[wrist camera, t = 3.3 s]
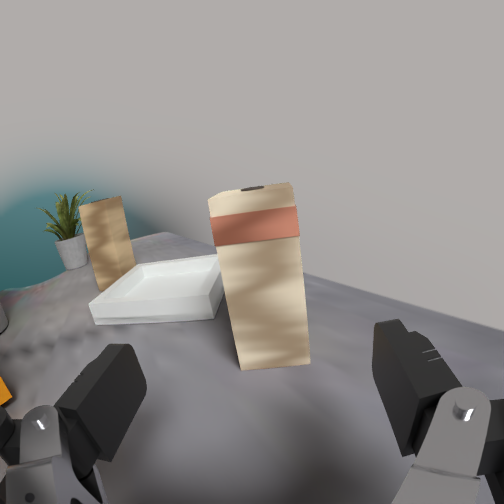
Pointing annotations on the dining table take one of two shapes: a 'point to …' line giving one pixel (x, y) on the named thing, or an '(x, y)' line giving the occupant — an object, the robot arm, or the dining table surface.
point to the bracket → (4, 392)
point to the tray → (162, 293)
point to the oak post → (107, 240)
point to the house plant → (69, 234)
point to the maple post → (262, 274)
